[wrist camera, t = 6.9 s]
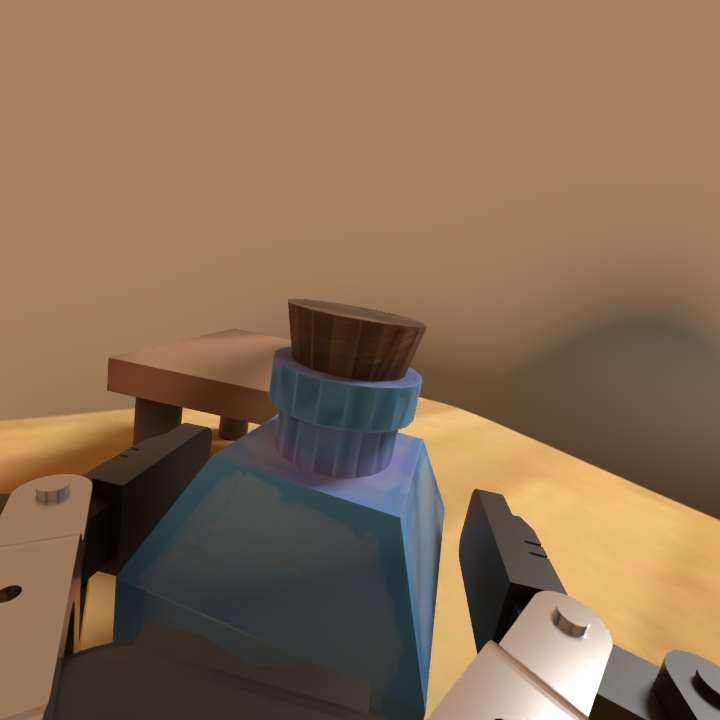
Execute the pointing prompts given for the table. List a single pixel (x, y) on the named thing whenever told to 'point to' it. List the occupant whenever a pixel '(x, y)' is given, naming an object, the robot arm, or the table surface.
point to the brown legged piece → (199, 381)
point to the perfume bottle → (311, 520)
